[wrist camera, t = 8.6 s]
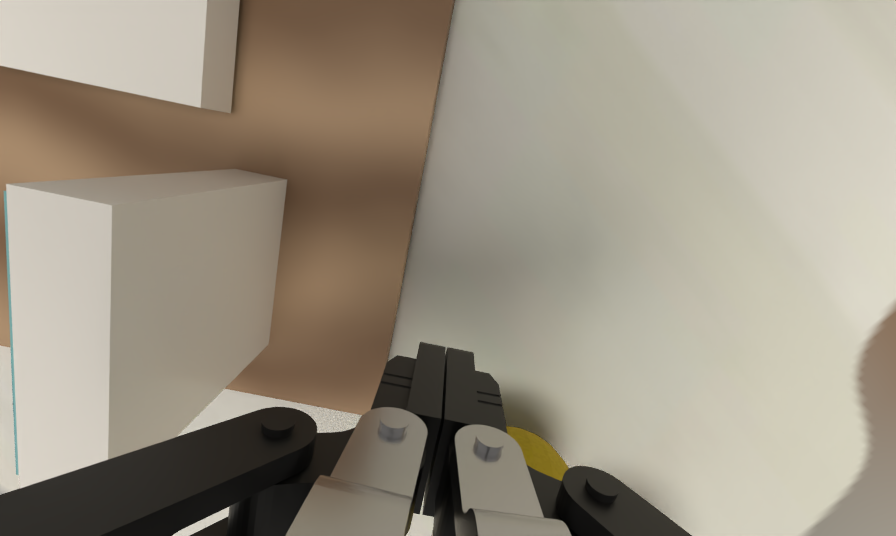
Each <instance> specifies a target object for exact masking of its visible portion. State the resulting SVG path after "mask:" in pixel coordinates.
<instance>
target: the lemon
mask: <svg viewBox="0 0 896 536" xmlns="http://www.w3.org/2000/svg"><path fill="white" fill-rule="evenodd" d="M506 428H507V433H508V435H510V436H511V437H512V438H513V439H514V440H515V441H516V442H517V443H518V444H519V446H520V448H521V450H522V452H523V456H524V459H525V462H526V464H527V465H528V466H530V467H531V468H533V469H535V470H537V471H539V472H541V473H543V474H546V475H548V476H550V477H553V478H555V479H558V480H560V481H562V478H563V475H564V473H565V472H566V471H567V470H568V469H569V468H568V466H567V465H566V463H565V462H564V460H563V459H562V458H561V457H560V456H559V454H558V453H557V452H556V451H555V449H554V448H553V447H552V446H551V445H550V444H549V443H547V442H546V441H544V440H543V439H542V438H540V437H539V436H537V435H536V434H534V433H531V432H529V431H526V430H524V429H521V428H516V427H510V426H506Z"/></svg>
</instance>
